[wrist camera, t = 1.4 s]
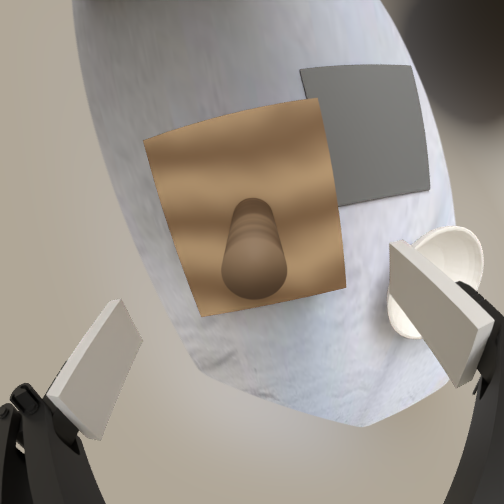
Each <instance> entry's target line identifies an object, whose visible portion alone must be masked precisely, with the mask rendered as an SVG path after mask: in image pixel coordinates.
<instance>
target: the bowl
mask: <svg viewBox="0 0 504 504" xmlns="http://www.w3.org/2000/svg"><path fill="white" fill-rule="evenodd" d="M411 246H412V247H413V248H414V249H416V250H417V251H418V252H420V253H421V254H422V255H423V256H424V257H426V258H427V259H428V260H429V261H431V262H432V263H433V264H434V265H435V266H437V267H438V268H439V269H440V270H441V271H442V272H444V273H445V274H446V275H447V276H448V277H449V278H451V279H452V280H453V281H454V282H458V281H461V282H464V283H466V284H468V285H470V286H471V287H472V288H474V289H475V290H476V291H477V290H478V287H479V285H480V282H481V278H482V274H483V265H484V258H483V251H482V247H481V244H480V242H479V240H478V238H477V237H476V236H475V235H474V234H473V233H472V232H471V231H470V230H467V229H466V228H463V227H458V226H445V227H439V228H437V229H434V230H431V231H429V232H428V233H426V234H425V235H423V236H421V237H420V238H419V239H418V240H416V241H415V242H414V243H413V244H412V245H411ZM389 288H390V283H389V286H388V292H387V313H388V316H389V320H390V323H391V325H392V327H393V328H394V330H395V331H396V332H397V333H399V334H400V335H401V336H403V337H406V338H409V339H423V338H422V336H421V335H420V334H419V332H418V331H417V329H416V328H415V327H414V325H413V324H412V323H411V321H410V320H409V318H408V317H407V316H406V314H405V313H404V312H403V310H402V309H401V308H400V306H399V305H398V304H397V302H396V301H395V300H394V299H393V297H392V296H391V295H390V293H389Z"/></svg>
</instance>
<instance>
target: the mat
mask: <svg viewBox="0 0 504 504" xmlns="http://www.w3.org/2000/svg"><path fill="white" fill-rule="evenodd" d="M300 74H301V77H302V81H303V85H304V89H305V93H306V97H307V99H312V98H318V101H319V106H320V110H321V114H322V119H323V124H324V128H325V133H326V138H327V143H328V148H329V154H330V159H331V165H332V170H333V176H334V183H335V189H336V196H337V203H338V206H342V205H347V204H352V203H357V202H362V201H368V200H373V199H378V198H384V197H389V196H395V195H400V194H406V193H412V192H418V191H423V190H429V189H430V176H429V164H428V154H427V145H426V137H425V130H424V124H423V118H422V112H421V107H420V102H419V97H418V92H417V88H416V83H415V79H414V75H413V71H412V68H411V66H407V65H341V66H326V67H315V68H306V69H300Z"/></svg>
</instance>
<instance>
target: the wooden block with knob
mask: <svg viewBox="0 0 504 504" xmlns="http://www.w3.org/2000/svg"><path fill="white" fill-rule="evenodd" d="M143 142H144V146H145V150H146V153H147V157H148V161H149V164H150V168H151V171H152V175H153V178H154V182H155V185H156V189H157V192H158V195H159V198H160V202H161V205H162V208H163V211H164V214H165V218H166V221H167V224H168V227H169V230H170V233H171V236H172V239H173V242H174V245H175V247H176V250H177V253H178V256H179V259H180V262H181V264H182V267H183V270H184V273H185V275H186V278H187V281H188V284H189V286H190V289H191V292H192V294H193V297H194V299H195V302H196V304H197V307H198V310H199V312H200V315H201V317H205V316H211V315H217V314H222V313H228V312H234V311H239V310H245V309H250V308H255V307H260V306H265V305H270V304H275V303H280V302H285V301H290V300H294V299H299V298H304V297H308V296H313V295H317V294H322V293H326V292H330V291H334V290H339V289H343V288H346V276H345V264H344V253H343V243H342V234H341V226H340V218H339V210H338V203H337V196H336V189H335V183H334V176H333V170H332V165H331V159H330V154H329V148H328V143H327V138H326V133H325V128H324V124H323V119H322V114H321V110H320V106H319V101H318V98H312V99H304V100H298V101H291V102H285V103H279V104H274V105H269V106H263V107H258V108H254V109H249V110H245V111H240V112H236V113H232V114H228V115H224V116H220V117H216V118H212V119H208V120H205V121H201V122H198V123H194V124H191V125H188V126H184V127H181V128H178V129H175V130H172V131H169V132H166V133H163V134H160V135H157V136H154V137H152V138H149V139H146V140H143Z"/></svg>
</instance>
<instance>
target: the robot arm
mask: <svg viewBox="0 0 504 504" xmlns="http://www.w3.org/2000/svg"><path fill="white" fill-rule="evenodd" d="M389 250H390V288H389V293H390V295H391V296H392V297H393V299H394V300H395V301H396V302H397V304H398V305H399V306H400V308H401V309H402V310H403V312H404V313H405V314H406V316H407V317H408V318H409V320H410V321H411V323H412V324H413V325H414V327H415V328H416V329H417V331H418V332H419V334H420V335H421V336H422V338H423V339H424V341H425V342H426V344H427V345H428V346H429V348H430V349H431V351H432V352H433V354H434V355H435V357H436V358H437V360H438V361H439V363H440V364H441V366H442V367H443V369H444V370H445V372H446V373H447V375H448V377H449V378H450V380H451V381H452V383H453V384H454V386H455V388H458V387H460V386H462V385H464V384H466V383H467V382H469V381H471V380H472V379H473V376H474V374H475V372H476V370H477V369H478V371H479V372H480V374H481V377H480V379H479V381H478V383H477V385H476V387H475V389H474V391H473V394H474V395H475V393H476V391H477V396H476V402H475V407H474V411H473V417H472V421H471V425H470V429H469V433H468V437H467V440H466V444H465V447H464V451H463V454H462V457H461V460H460V463H459V466H458V469H457V472H456V474H455V477H454V480H453V482H452V485H451V487H450V490H449V492H448V494H447V497H446V499H445V501H444V503H443V504H504V317H503V315H502V314H501V313H500V312H499V311H497V310H496V309H495V308H494V307H493V306H492V305H491V304H490V303H489V302H488V301H487V300H486V299H485V300H484V298H483V297H482V296H481V295H480V294H478V292H477V291H476V290H475V289H474V288H472V287H471V286H470V285H468V284H466V283H464V282H461V281H458V282H454V281H453V280H452V279H451V278H449V277H448V276H447V275H446V274H445V273H444V272H442V271H441V270H440V269H439V268H438V267H437V266H435V265H434V264H433V263H432V262H431V261H429V260H428V259H427V258H426V257H424V256H423V255H422V254H421V253H420V252H418V251H417V250H416V249H414V248H413V247H412V246H411V245H409V244H408V243H407V242H406V241H404V240H399V241H395V242H391V243H389ZM142 342H143V340H142V338H141V336H140V334H139V332H138V331H137V329H136V327H135V325H134V323H133V321H132V319H131V317H130V315H129V313H128V311H127V309H126V307H125V305H124V303H123V301H122V299H116V300H110V301H109V303H108V304H107V305H106V306H105V308H104V309H103V311H102V312H101V313H100V315H99V316H98V317H97V319H96V320H95V321H94V323H93V324H92V326H91V327H90V329H89V330H88V331H87V333H86V334H85V336H84V337H83V339H82V340H81V341H80V343H79V344H78V346H77V347H76V349H75V350H74V352H73V353H72V355H71V356H70V358H69V359H68V360H67V361H66V362H65V364H64V365H63V367H62V368H61V371H59V373H58V374H57V378H55V379H54V381H53V382H52V384H51V386H50V387H49V389H48V391H47V392H46V394H45V396H44V397H43V399H42V398H41V397H40V396H39V395H38V394H37V392H36V391H35V390H34V389H33V387H31V385H30V384H29V383H24V384H21V385H19V386H18V387H17V388H16V389H15V390H14V391H13V392H12V394H11V396H10V401H11V402H12V403H13V404H14V405H15V407H16V408H17V409H18V410H19V411H17V410H16V408H15V407H14V406H13V405H12V404H10V403H6V404H4V405H2V407H0V504H106V503H105V501H104V499H103V497H102V495H101V492H100V490H99V488H98V485H97V483H96V480H95V478H94V475H93V473H92V470H91V467H90V465H89V462H88V459H87V456H86V453H85V450H84V447H83V444H82V441H81V439H80V438H79V437H78V436H77V433H78V431H80V432H81V433H83V434H84V435H85V436H86V437H87V438H89V439H94V440H99V441H101V439H102V436H103V434H104V431H105V428H106V426H107V423H108V421H109V418H110V416H111V413H112V411H113V408H114V406H115V403H116V401H117V398H118V396H119V394H120V391H121V389H122V387H123V384H124V382H125V380H126V377H127V375H128V373H129V370H130V368H131V366H132V364H133V361H134V359H135V357H136V354H137V352H138V350H139V348H140V346H141V344H142ZM16 442H18V444H20V445H21V446H22V447H23V448H24V449H25V454H24V453H22V452H21V451H20V450H18V449H17V448H16Z"/></svg>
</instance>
